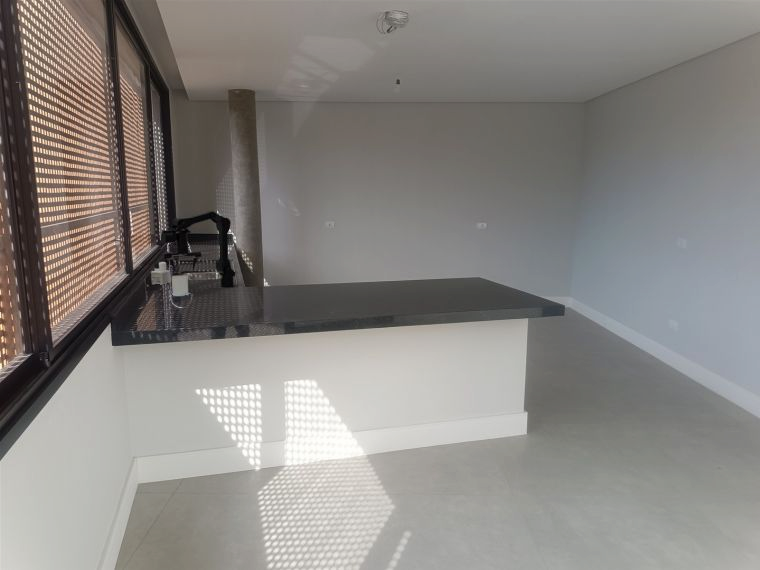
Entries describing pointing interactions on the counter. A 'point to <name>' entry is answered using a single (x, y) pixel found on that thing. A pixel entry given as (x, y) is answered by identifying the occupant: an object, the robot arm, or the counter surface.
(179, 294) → the disc
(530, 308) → the counter surface
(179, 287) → the matte gray cube
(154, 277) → the container
